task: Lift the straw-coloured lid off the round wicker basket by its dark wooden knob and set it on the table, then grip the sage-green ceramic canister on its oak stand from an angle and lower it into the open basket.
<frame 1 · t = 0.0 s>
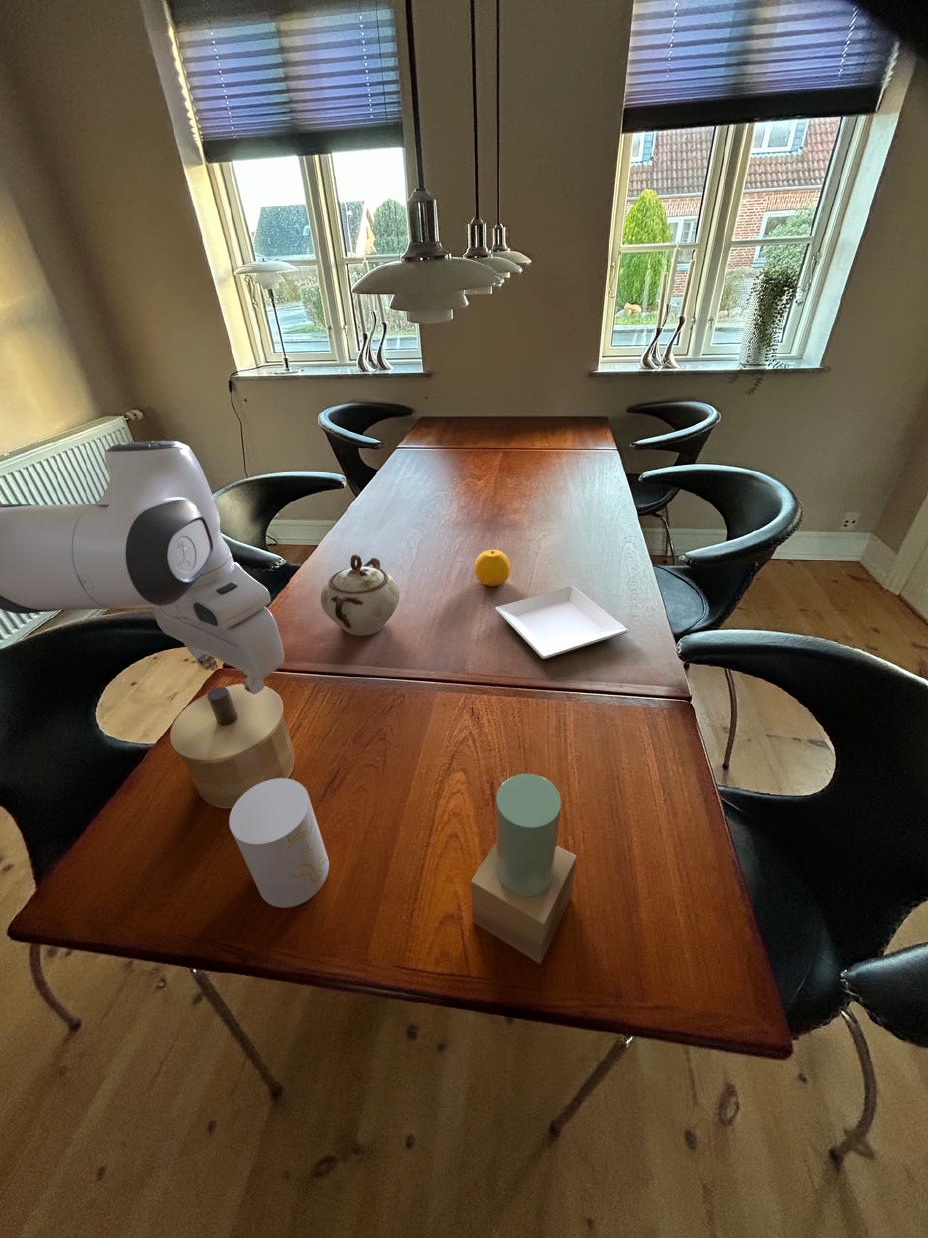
hand: (231, 677, 68), 16 cm above the table, tool pointing down, fingers open, 8 cm apart
canister: (524, 868, 54), point 8 cm above the table, touching stand
basket lid: (229, 721, 71), point 9 cm above the table, touching basket
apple: (492, 582, 119), on the table
stand: (522, 909, 58), on the table
white cylinder: (294, 874, 63), on the table
basket: (247, 769, 76), on the table
plate: (558, 627, 103), on the table
sugar bowl: (365, 624, 106), on the table
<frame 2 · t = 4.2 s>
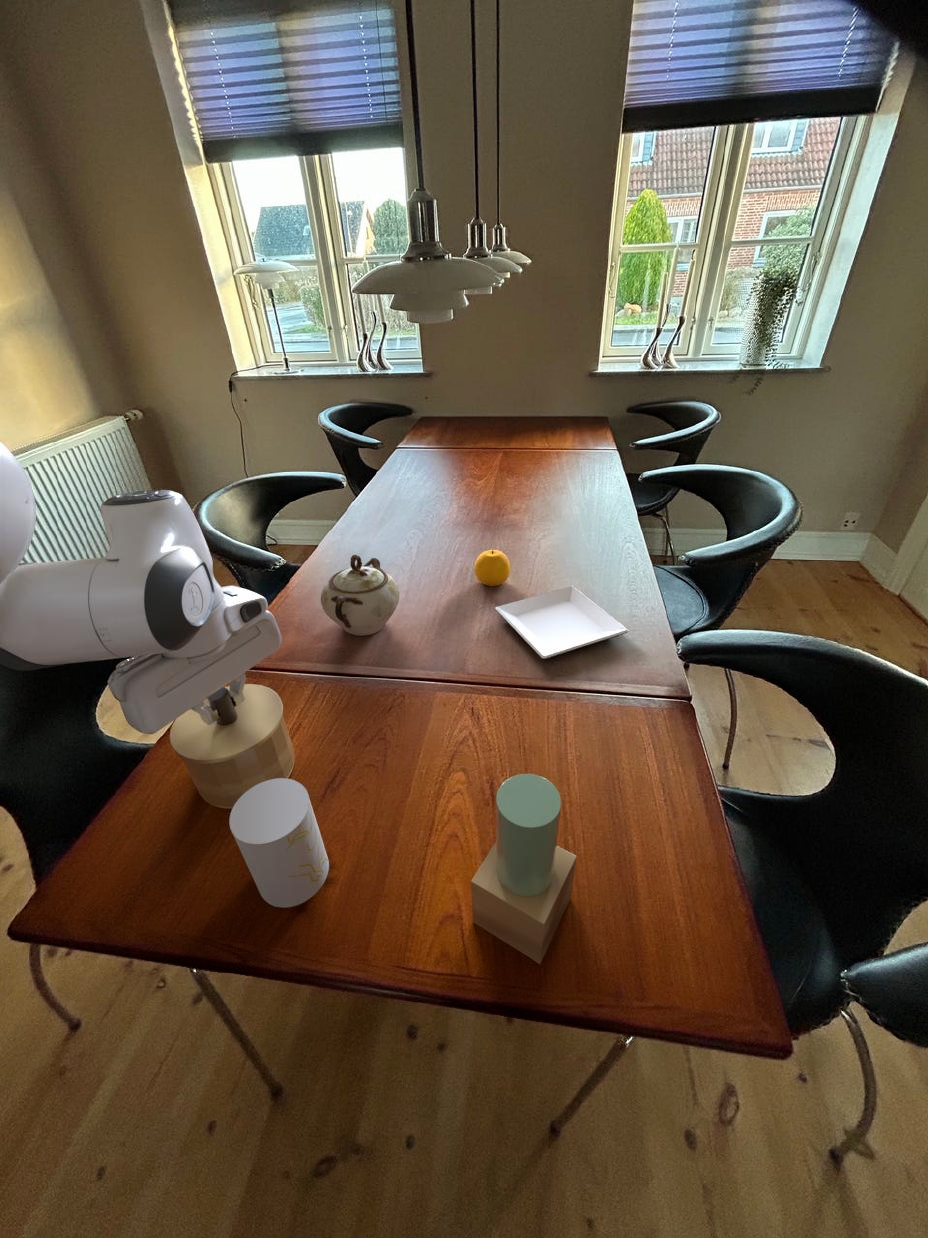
hand: (224, 711, 70), 11 cm above the table, tool pointing down, fingers closed on basket lid, 2 cm apart
basket lid: (228, 722, 71), point 10 cm above the table, touching basket, gripper
everything else where it was.
when the fingers open (2 cm above the table, at t = 12.3 s): basket lid stays where it is, point 1 cm above the table.
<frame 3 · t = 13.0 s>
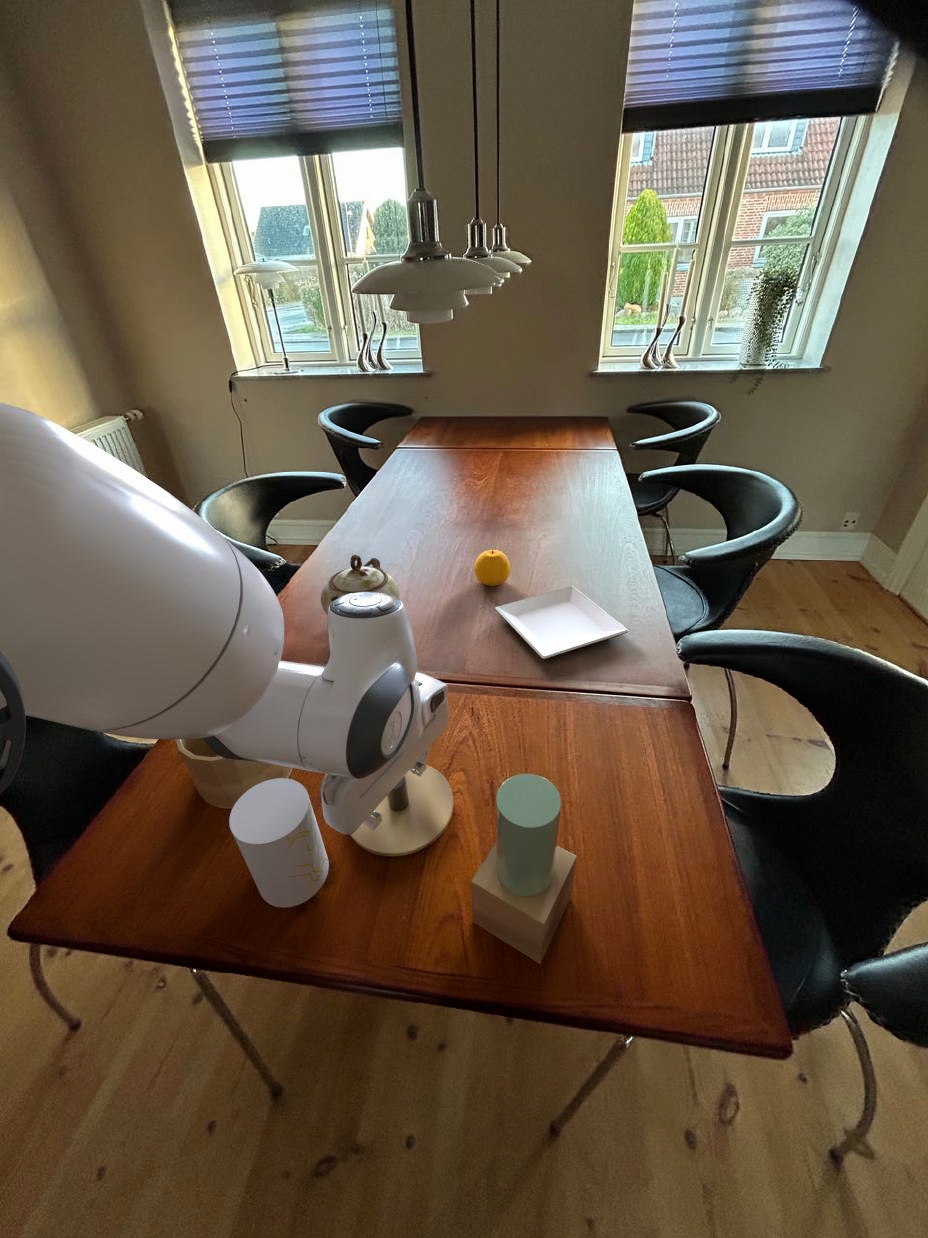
hand: (397, 796, 68), 3 cm above the table, tool pointing down, fingers open, 8 cm apart
basket lid: (399, 806, 69), point 1 cm above the table
everything else where it was.
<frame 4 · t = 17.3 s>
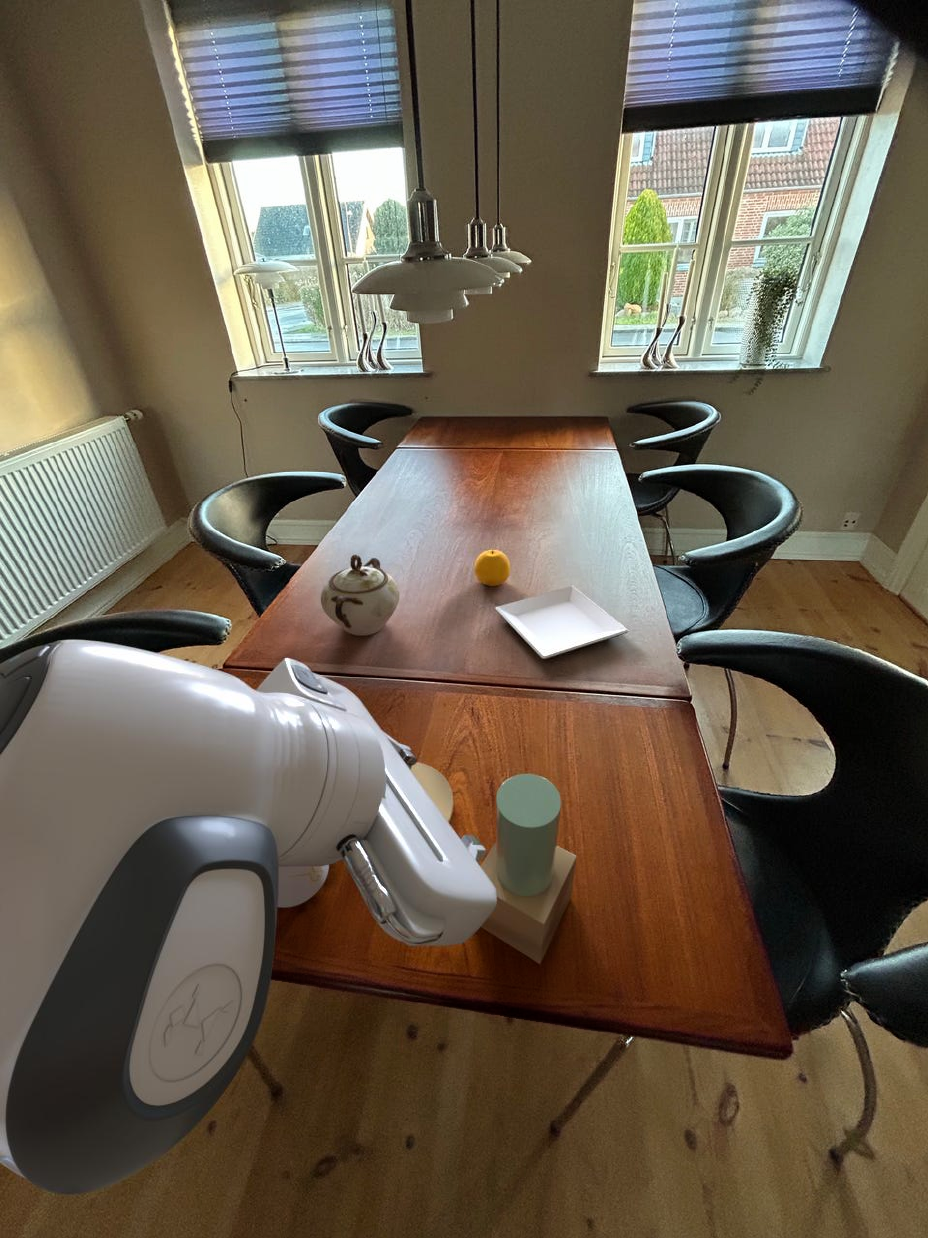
hand: (439, 803, 41), 25 cm above the table, tool tilted 40°, fingers open, 8 cm apart
nothing on the table moved.
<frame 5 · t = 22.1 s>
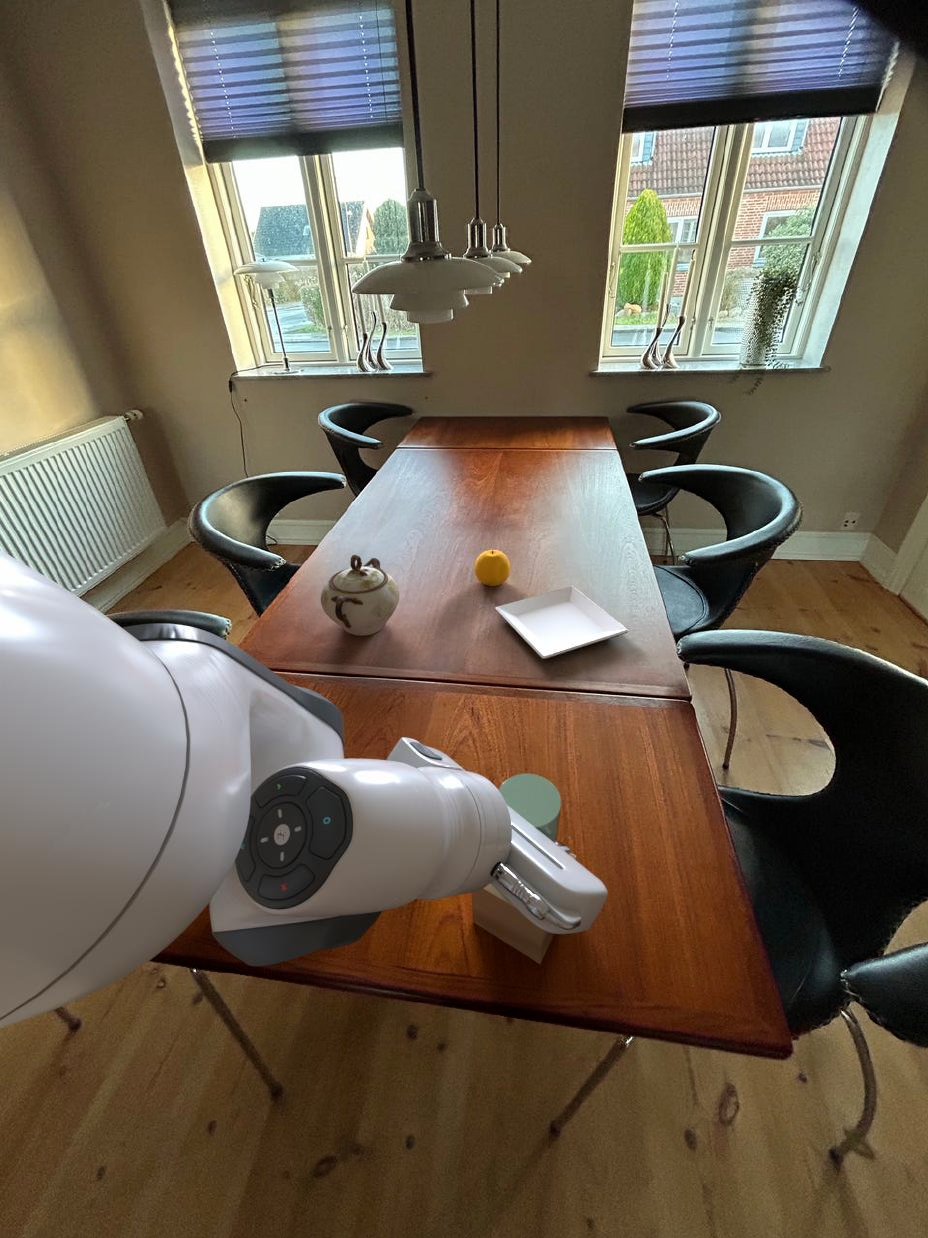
hand: (530, 828, 51), 14 cm above the table, tool tilted 45°, fingers closed on canister, 6 cm apart
canister: (524, 868, 54), point 8 cm above the table, touching gripper, stand
everything else where it was.
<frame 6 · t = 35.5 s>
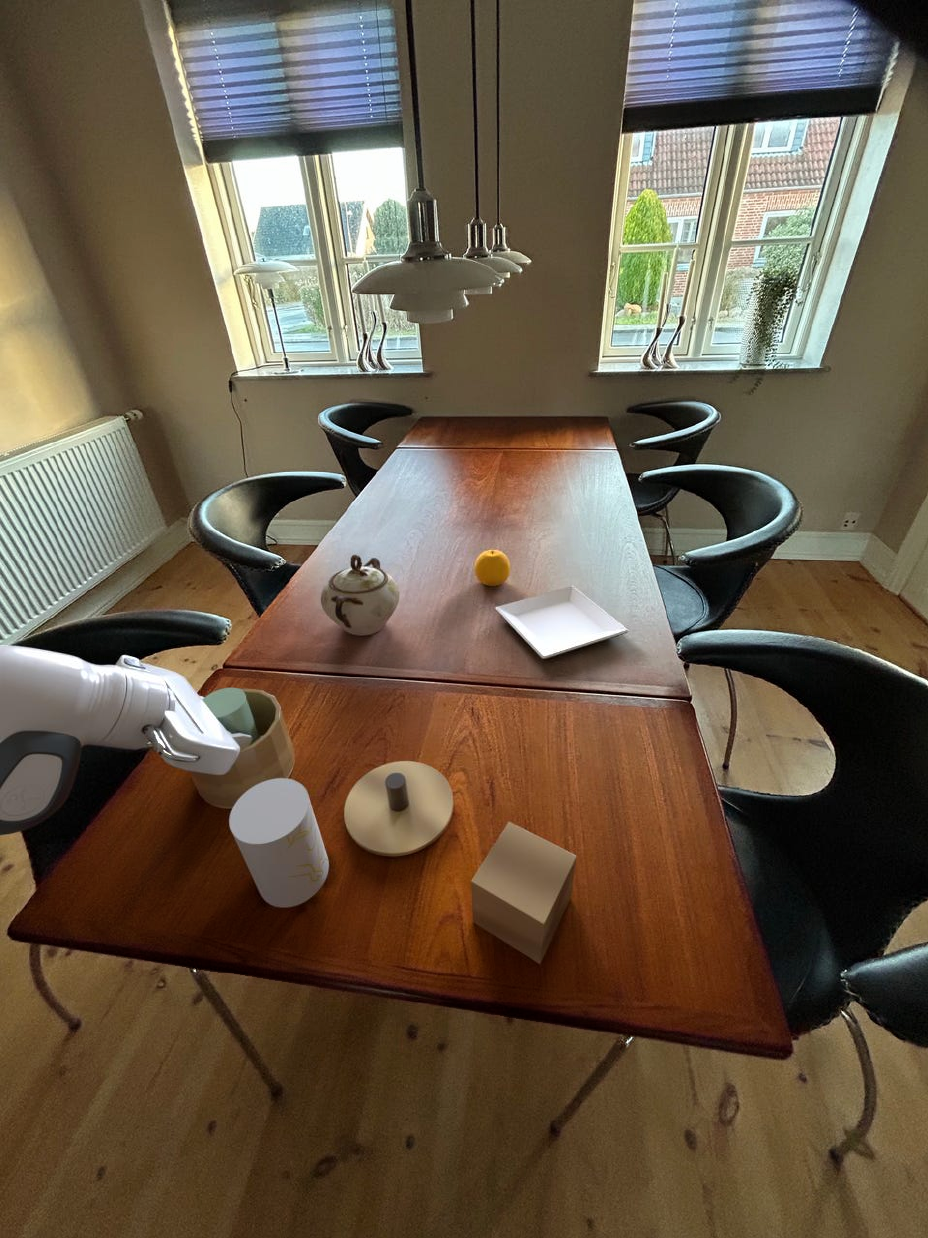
hand: (236, 726, 72), 8 cm above the table, tool tilted 45°, fingers closed on canister, 6 cm apart
canister: (244, 760, 75), point 2 cm above the table, touching gripper
everything else where it was.
when the fingers open (9 cm above the table, at t = 43.6 s): canister drops 2 cm, resting on basket.
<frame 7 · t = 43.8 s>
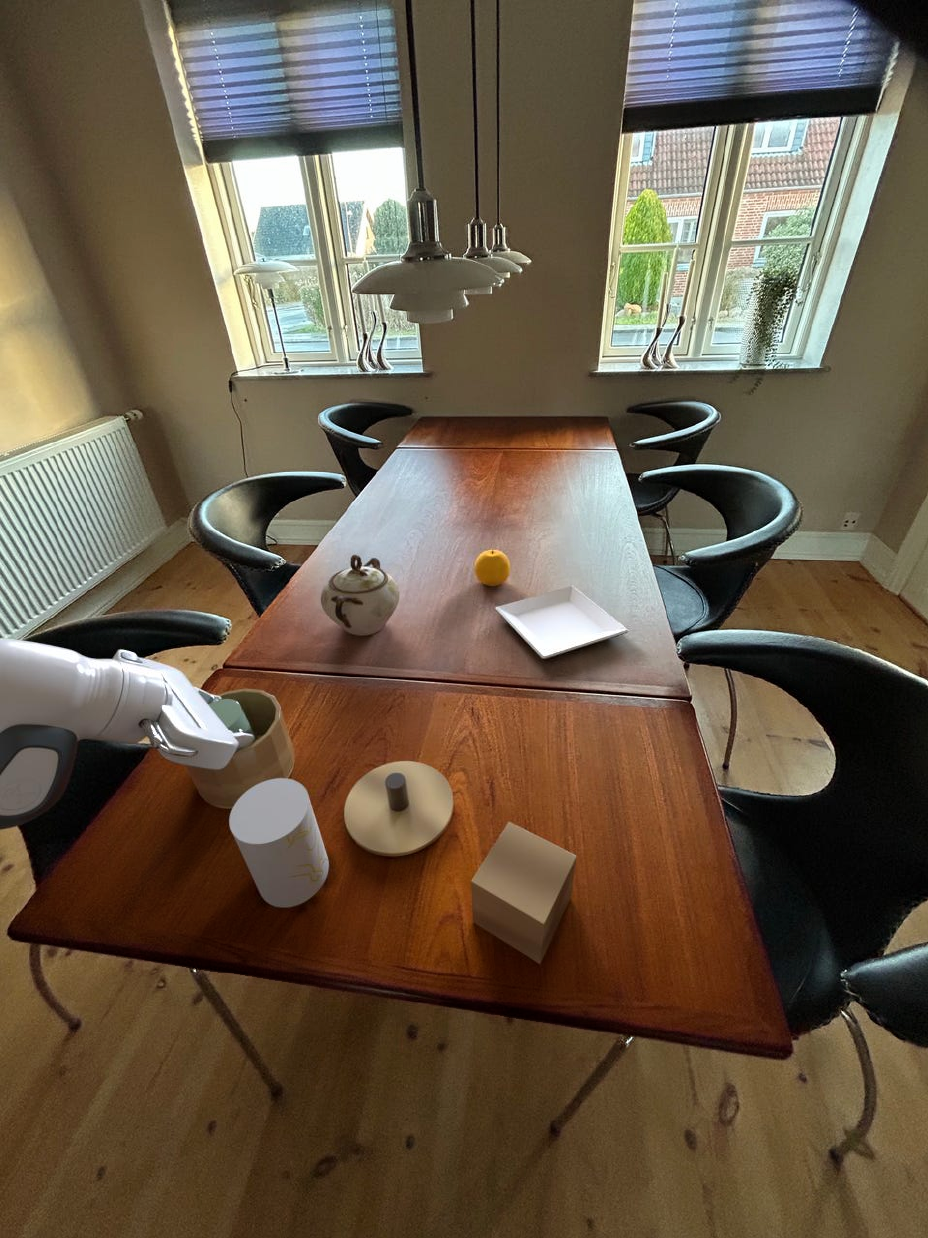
hand: (234, 721, 71), 9 cm above the table, tool tilted 45°, fingers open, 8 cm apart
canister: (246, 766, 76), point 1 cm above the table, tilted 6°, touching basket
everything else where it was.
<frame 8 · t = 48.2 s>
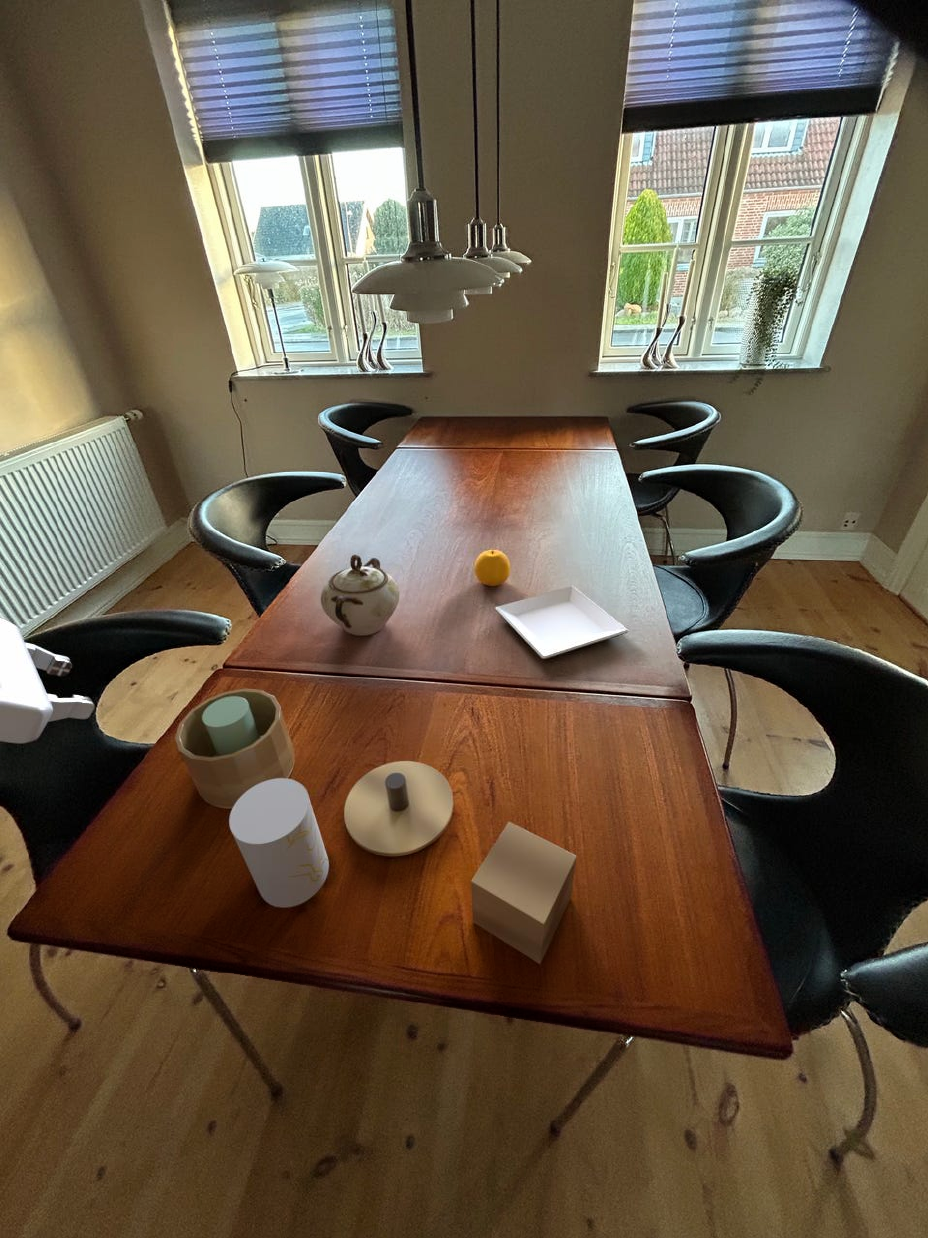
hand: (79, 687, 56), 23 cm above the table, tool tilted 45°, fingers open, 8 cm apart
canister: (247, 767, 76), resting on basket
everything else where it was.
at the end: basket lid inside the target area (0.1 cm from its centre), point 0.6 cm above the table; canister inside the target area in the basket (0.1 cm from its centre), point 0.5 cm above the basket's base; canister tilted 0° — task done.
